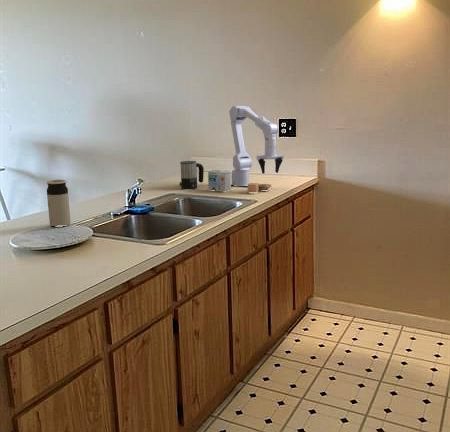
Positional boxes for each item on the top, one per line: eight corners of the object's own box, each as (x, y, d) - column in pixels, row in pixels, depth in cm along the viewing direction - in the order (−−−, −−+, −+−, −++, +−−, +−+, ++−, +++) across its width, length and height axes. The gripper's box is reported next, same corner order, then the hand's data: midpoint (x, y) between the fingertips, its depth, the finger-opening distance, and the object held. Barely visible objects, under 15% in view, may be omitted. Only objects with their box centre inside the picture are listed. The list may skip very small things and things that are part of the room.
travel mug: (72, 222, 211) (69, 179, 207) (67, 227, 203) (64, 182, 199) (53, 223, 211) (49, 179, 207) (47, 228, 203) (43, 183, 199)
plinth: (252, 190, 276) (252, 186, 275) (257, 188, 283) (257, 183, 282) (267, 191, 273) (267, 186, 272) (271, 188, 280) (271, 184, 280)
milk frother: (189, 190, 278) (189, 163, 275) (168, 187, 288) (167, 161, 284) (206, 186, 289) (205, 160, 286) (185, 184, 299) (184, 158, 295)
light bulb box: (207, 191, 276) (207, 171, 274) (214, 189, 282) (213, 169, 280) (225, 192, 271) (225, 172, 269) (231, 190, 277) (231, 170, 275)
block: (247, 193, 268) (247, 184, 267) (250, 192, 272) (250, 182, 271) (256, 194, 267) (256, 184, 266) (258, 192, 271) (258, 183, 270)
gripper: (259, 148, 264) (259, 174, 267) (286, 147, 268) (285, 173, 271) (255, 147, 270) (255, 172, 273) (281, 145, 274) (280, 171, 277)
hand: (270, 172), depth 273 cm, fingers open, 7 cm apart
